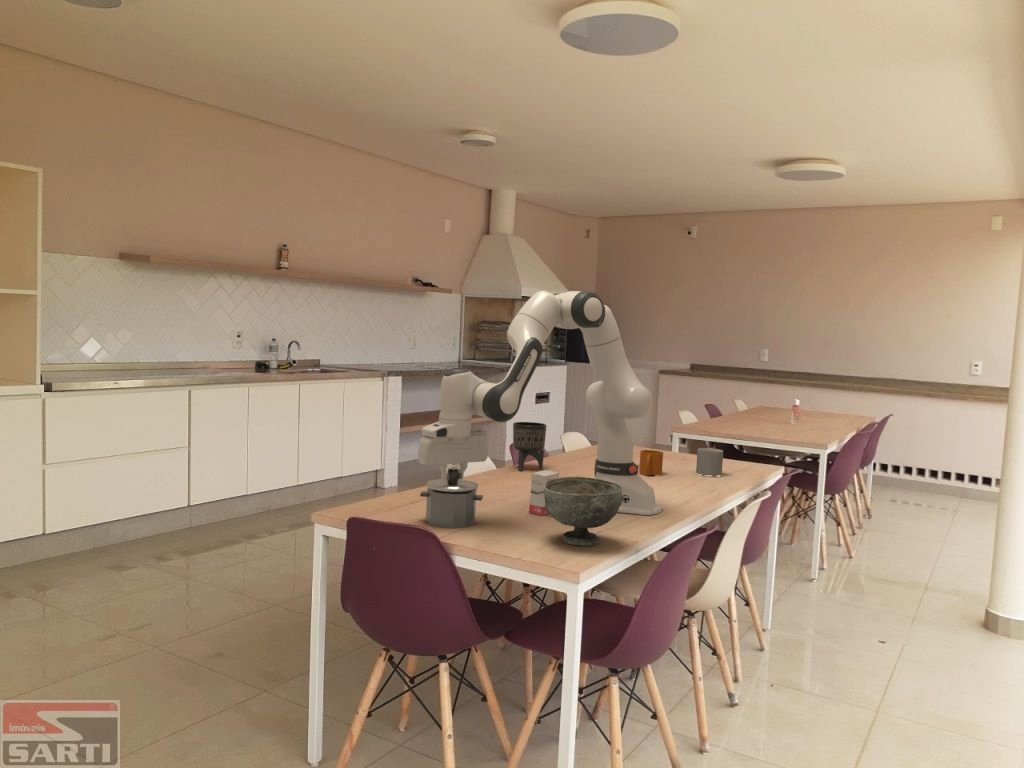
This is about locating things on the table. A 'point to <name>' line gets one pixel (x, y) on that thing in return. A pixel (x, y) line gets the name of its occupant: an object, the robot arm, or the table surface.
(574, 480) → the bowl
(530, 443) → the planter
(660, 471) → the mug
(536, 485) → the ink box
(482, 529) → the table surface
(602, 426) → the robot arm
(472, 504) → the pot
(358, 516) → the table surface
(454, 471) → the lid
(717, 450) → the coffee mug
